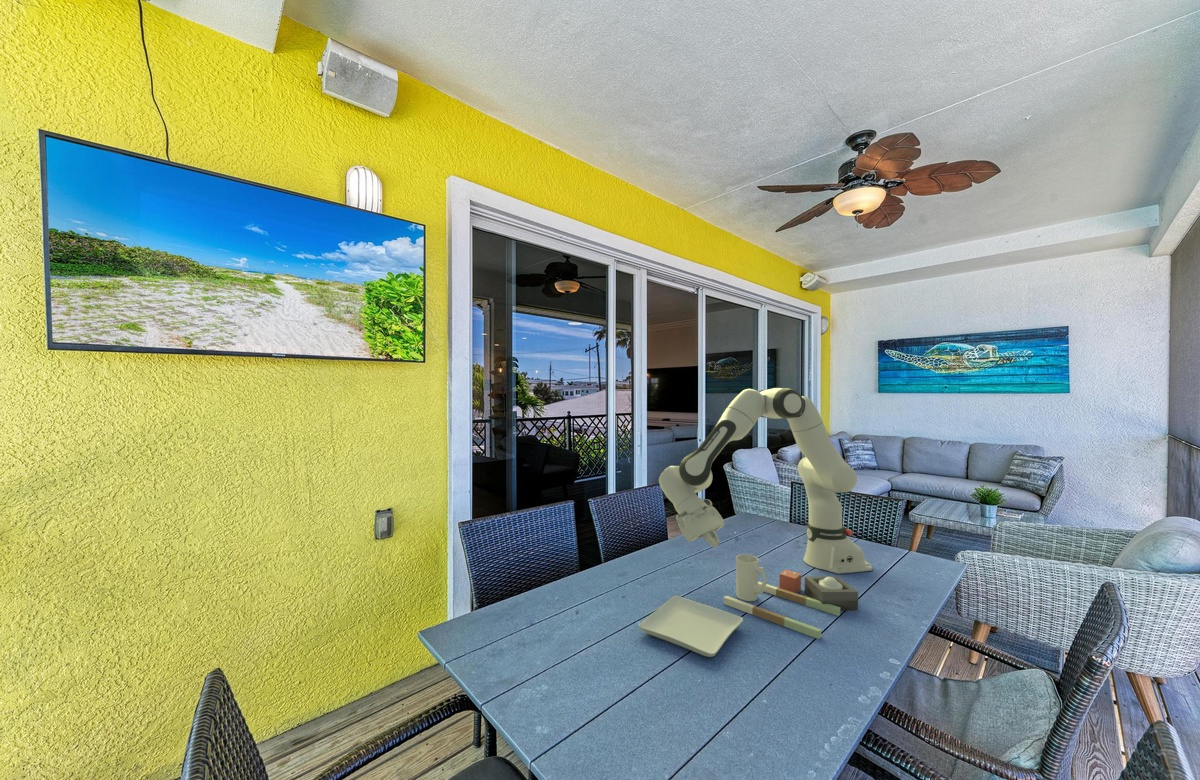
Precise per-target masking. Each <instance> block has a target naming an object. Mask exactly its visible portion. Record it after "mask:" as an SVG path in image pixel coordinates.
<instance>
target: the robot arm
mask: <svg viewBox="0 0 1200 780" xmlns="http://www.w3.org/2000/svg"><path fill="white" fill-rule="evenodd" d="M760 418H765V419H767V418H768V419H771V420H772V419H774V420H779V419H786V420H787V422H788V424H789V428H790V431H791V432H792V436H793V438H794V440H795V443H796V446H797V448H798V450H799V451H800V452H801V453H802V454H803V455H804V457H802V458H801V459H800V460H799V462H798V465H797V472H798V475H799V476H800V478H801V480H802V482H803V485H804V489H805V491H806V496H807V503H808V522H807V527H806V528H807V529H806V536H807V542H806V543H807V544H806V549H805V554H804V556H803V562H804V563H805V564H807V565H809V566H810V567H813V568H816V569H820V570H824V571H827V572H831V573H834V574H839V575H840V574H848V573H849V574H850V573H859V572H869V571H873V567H872V565H871V564H870V563H869V562H868V561H867V560H866V559H865V554H864V551H863V550H862V548H861V547H860V546H858V544H856V543H855V542H853V541H852V539H849V537H850V536H852V535H853V530H851V529H849V528H845V527H844V526H843V506H842V504H841V501H840V500H839V499H838V497H837V494H836V493H847V492H848V493H849V492H850V491H852V490H853V489H854V488H855V487H856V485H857V481H858V476H857V473H856V471H855V469H854V468H853V467H852V466H850V465H849V464H848V463H847V462H846V461H845V459H844V458H843V457H842V456H841V454H840V452H839V451H838V449H836V448H837V447H836V446H834V444H833V442H832V440H831V438H830V437H829V433H828V431H827V429H826V427H825V424H824V422H823V419H822V417H821V415H820V412H819V411H818V409H817V407H816V405H815V403H814V402H813V401H812V400H811V399H810V397H807V396H805V395H804V396H802V394H800V392H798V391H797V390H794V389H793V388H788V387H784V388H783V387H782V388H781V387H773V388H769V389H762V390H757V389H756V390H755V389H753V388H746V389H743V390H742V391H741V392H740V393H739V394H737V395H736V397H734V399H732V401H730V403H729V404H728V406H727V407H726V408H725V410H724V411H723V413H722V414H721V416H720V417H719V420H718V421H717V423H716V425H715V426H714V428H713V429H712V431H710V432H709V434H708V436H706V438H705V439H704V441H702V442H701V444H700V445H699V446H698V447H697V448H696V450H694V451H692V452H691V453H689V454H688V455H686V456H685V457H683V459H682V460H681V461H680V463H679V465H669V466H667V467H666V468H665V469H664V470H663V471H662V472H661V473H660V475H659V477H658V484H659V486H660V488H661V489H662V491H663V493H664V494H665V496H666V498H667V499H668V500H669V501H670V502H671V503H672V504H673V507H674V510H675V511H676V512H677V513H678V514H676V517H675V519H676V522H677V525H678V527H679V530H680V531H681V533H682V535H683V537H684V539H685V540H686V541H687V542H689V543H691V542H693V541H696V540H698V539H700V538H703V540H704V541H706V543H709V545H710V546H711V547H712V548H715V547H717V546H720V544H721V541H720V539H719V537H718V535H717V532H716V531H718V530H720V529H721V528H723V527H724V526H726V525H725V521H724V519H723V517H722V515H721V514H720V512H719V511H718V510H717V509H716V507H714V506H713V502H712V501H711V500H710V499H706V498H702V497H699V496H698V495H697V493H699V492H701V491H703V490H706V489H708V488H709V487H710V486H711V485H712V482H713V472H712V469H711V468H712V465H713V462H714V461H715V459H716V458H718V457H717V456H718V455H719V454H720V453H721V451H722V450H723V449H724V448H725V446H726V445H727V444H728V443H730V442H732V441H739V440H742V439H743V438H744V437H746V436H747V435H748V434H749V433H750V431H751V430H752V428H754V426H755V424H756V423H757V421H758V419H760ZM847 536H849V537H847Z"/></svg>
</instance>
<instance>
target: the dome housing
mask: <svg viewBox="0 0 1200 780" xmlns="http://www.w3.org/2000/svg"><path fill="white" fill-rule="evenodd" d="M826 577H827V576H804V596H806V597H809V598H812V599H816V600H819V601H820V602H821V603H822V604H831V605H835V606H838V607H840V612H842V611H848V612H849V610H850V611H851V612H853V611H855V610H858V611H859V591H858V590H857V589H856V588H854V587H853V586H851V585H850V584H848V583H847V582H846V581H844V580H843V579H842V578H841V577H839V576H832V577H833V578H835V579H836V580H837V582H839V583H840V584H842V589H824V588H823V587H821V586H820V585H819V581H820V580H823V579H824V578H826ZM855 612H856V611H855Z"/></svg>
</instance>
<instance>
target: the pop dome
mask: <svg viewBox="0 0 1200 780" xmlns="http://www.w3.org/2000/svg"><path fill="white" fill-rule="evenodd" d="M825 577H826V578H824V579H823V580H820V581H819V585H820V586H821V587H823V588H824V589H842V584H840V583H839V582H837V580H836V579H835V578H833V577H834V576H825Z"/></svg>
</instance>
